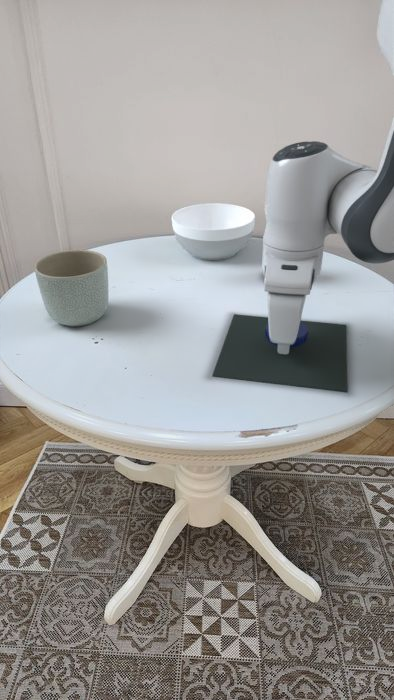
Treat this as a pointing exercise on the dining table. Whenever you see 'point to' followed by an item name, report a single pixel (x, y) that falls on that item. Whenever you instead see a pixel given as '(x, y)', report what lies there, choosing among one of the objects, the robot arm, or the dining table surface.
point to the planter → (74, 286)
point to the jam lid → (299, 340)
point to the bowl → (213, 229)
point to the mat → (285, 356)
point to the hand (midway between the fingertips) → (285, 339)
